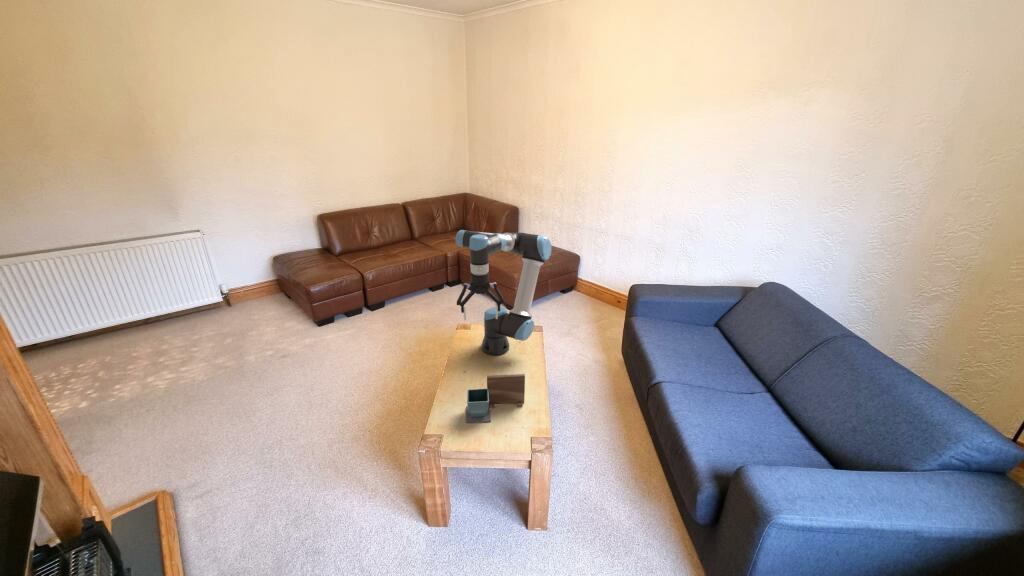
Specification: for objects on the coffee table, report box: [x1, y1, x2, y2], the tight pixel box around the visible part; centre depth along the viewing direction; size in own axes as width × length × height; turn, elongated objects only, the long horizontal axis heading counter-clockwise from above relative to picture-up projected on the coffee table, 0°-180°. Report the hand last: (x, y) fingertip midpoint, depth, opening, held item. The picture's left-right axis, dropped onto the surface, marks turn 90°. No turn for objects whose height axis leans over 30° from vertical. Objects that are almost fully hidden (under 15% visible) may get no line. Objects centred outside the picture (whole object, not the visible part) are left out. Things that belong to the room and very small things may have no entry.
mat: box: [465, 405, 492, 424], centre depth 165 cm, size 10×10×1 cm
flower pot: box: [466, 388, 489, 417], centre depth 164 cm, size 9×9×9 cm
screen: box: [486, 373, 526, 409], centre depth 170 cm, size 6×16×14 cm, turn 95°
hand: (481, 318), depth 172 cm, fingers open, 13 cm apart
